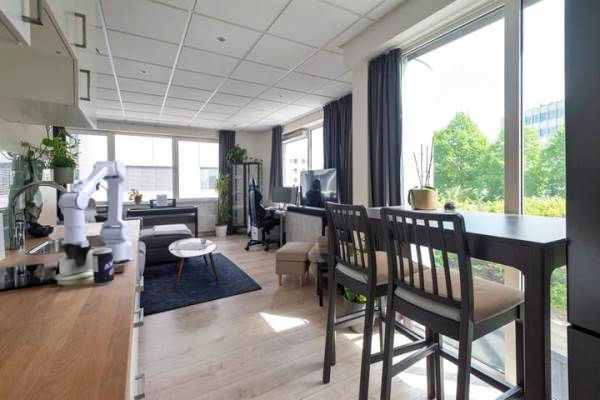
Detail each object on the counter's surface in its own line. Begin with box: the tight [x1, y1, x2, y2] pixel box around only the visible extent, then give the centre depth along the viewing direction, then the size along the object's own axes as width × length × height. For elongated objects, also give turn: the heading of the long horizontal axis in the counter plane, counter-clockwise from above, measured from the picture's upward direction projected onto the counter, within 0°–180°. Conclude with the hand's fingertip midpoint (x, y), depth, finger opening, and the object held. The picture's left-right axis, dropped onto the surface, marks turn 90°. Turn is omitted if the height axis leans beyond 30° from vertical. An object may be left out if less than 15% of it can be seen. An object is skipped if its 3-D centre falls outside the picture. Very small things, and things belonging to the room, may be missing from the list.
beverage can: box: [91, 246, 115, 286], centre depth 95 cm, size 6×6×12 cm
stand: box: [54, 269, 94, 286], centre depth 99 cm, size 12×12×2 cm
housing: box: [58, 253, 93, 275], centre depth 98 cm, size 8×5×5 cm, turn 149°
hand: (77, 264), depth 99 cm, fingers closed on housing, 5 cm apart
